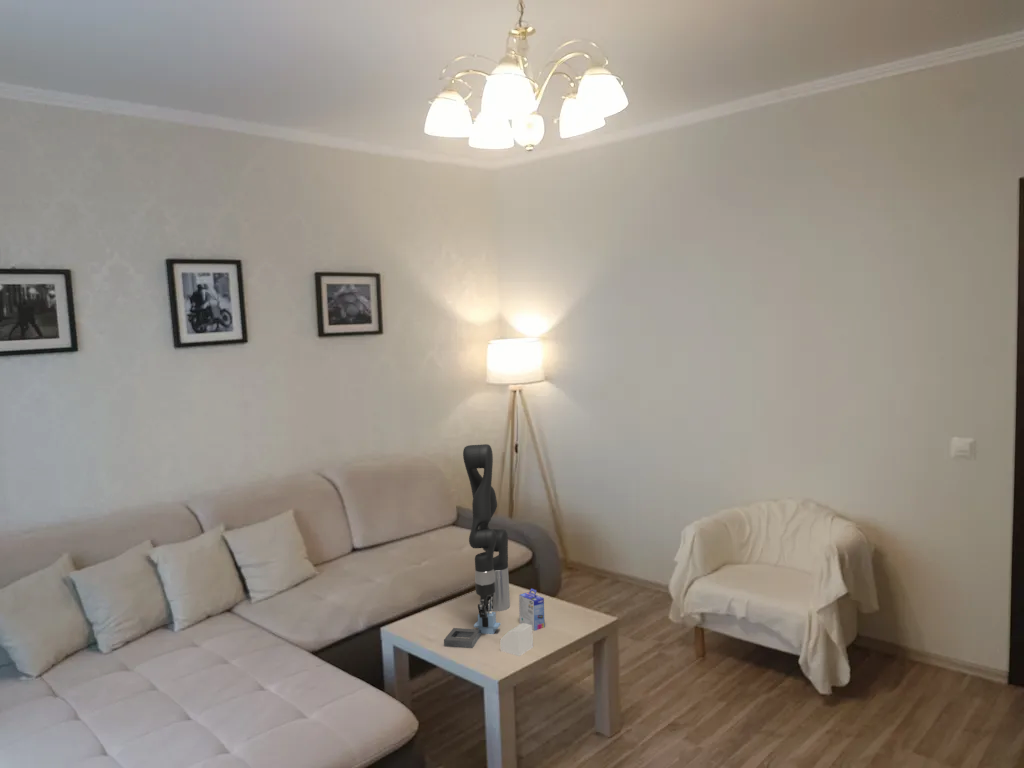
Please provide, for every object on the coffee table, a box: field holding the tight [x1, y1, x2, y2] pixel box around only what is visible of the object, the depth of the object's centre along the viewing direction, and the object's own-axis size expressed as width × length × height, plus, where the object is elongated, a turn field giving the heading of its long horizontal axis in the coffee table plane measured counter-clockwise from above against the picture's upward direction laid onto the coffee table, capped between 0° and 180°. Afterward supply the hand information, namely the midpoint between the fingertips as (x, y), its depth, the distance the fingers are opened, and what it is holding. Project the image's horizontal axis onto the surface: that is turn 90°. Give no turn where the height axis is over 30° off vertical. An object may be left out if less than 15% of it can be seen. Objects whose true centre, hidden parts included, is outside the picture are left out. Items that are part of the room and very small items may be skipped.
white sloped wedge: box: [499, 623, 534, 657], centre depth 260 cm, size 8×15×8 cm, turn 143°
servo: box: [473, 611, 501, 635], centre depth 274 cm, size 4×10×8 cm, turn 75°
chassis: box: [443, 627, 482, 649], centre depth 267 cm, size 11×11×2 cm
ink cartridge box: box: [518, 587, 546, 632], centre depth 278 cm, size 10×6×14 cm, turn 37°
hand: (487, 624), depth 274 cm, fingers closed on servo, 4 cm apart
